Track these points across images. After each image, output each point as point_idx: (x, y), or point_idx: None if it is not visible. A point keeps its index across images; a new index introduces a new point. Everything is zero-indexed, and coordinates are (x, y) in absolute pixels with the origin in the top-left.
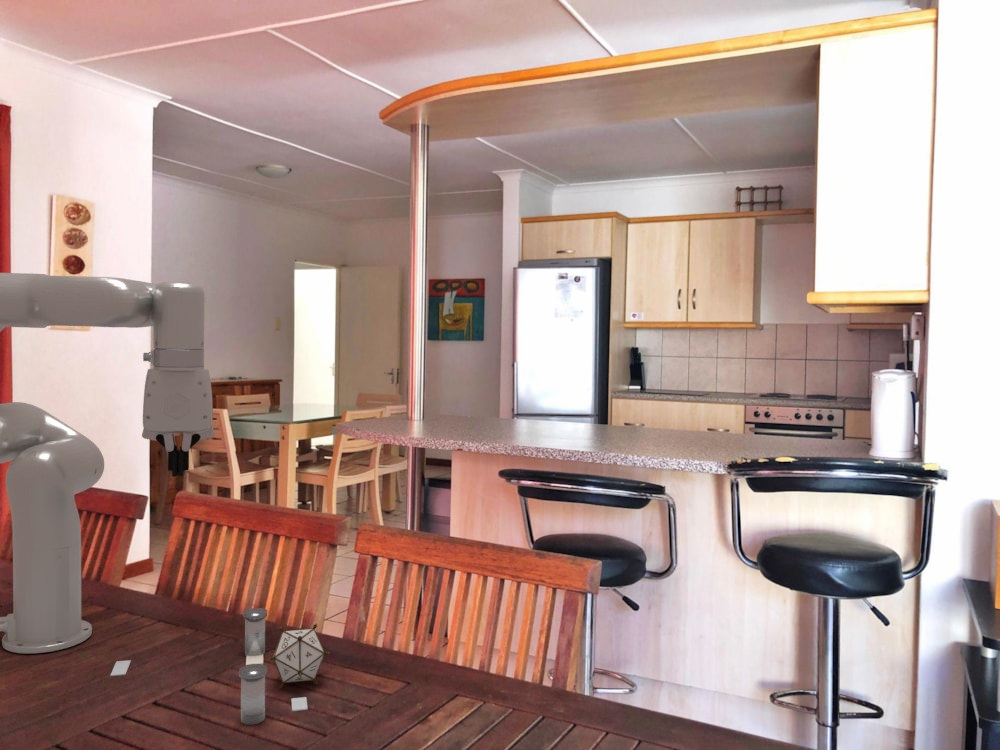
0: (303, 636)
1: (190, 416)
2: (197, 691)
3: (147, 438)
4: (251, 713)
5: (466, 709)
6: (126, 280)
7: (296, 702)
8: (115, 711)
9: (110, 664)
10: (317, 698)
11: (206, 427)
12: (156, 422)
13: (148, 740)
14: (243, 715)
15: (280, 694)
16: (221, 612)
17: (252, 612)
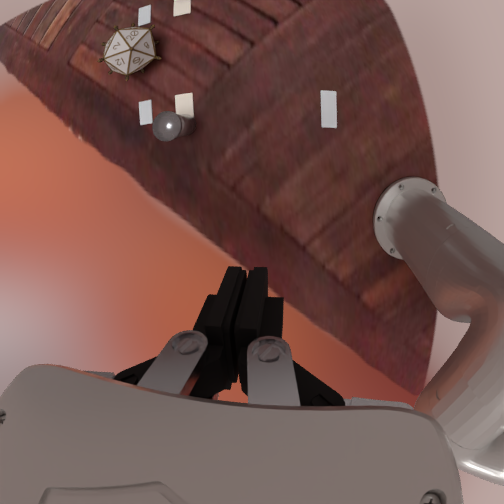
0: (113, 36)
1: (54, 463)
2: (236, 38)
3: (386, 404)
4: None
5: (49, 31)
6: None
7: (146, 16)
8: (310, 14)
9: (342, 124)
10: None
11: (25, 368)
12: (363, 476)
13: None
14: None
15: (159, 31)
16: (236, 259)
17: (169, 124)
